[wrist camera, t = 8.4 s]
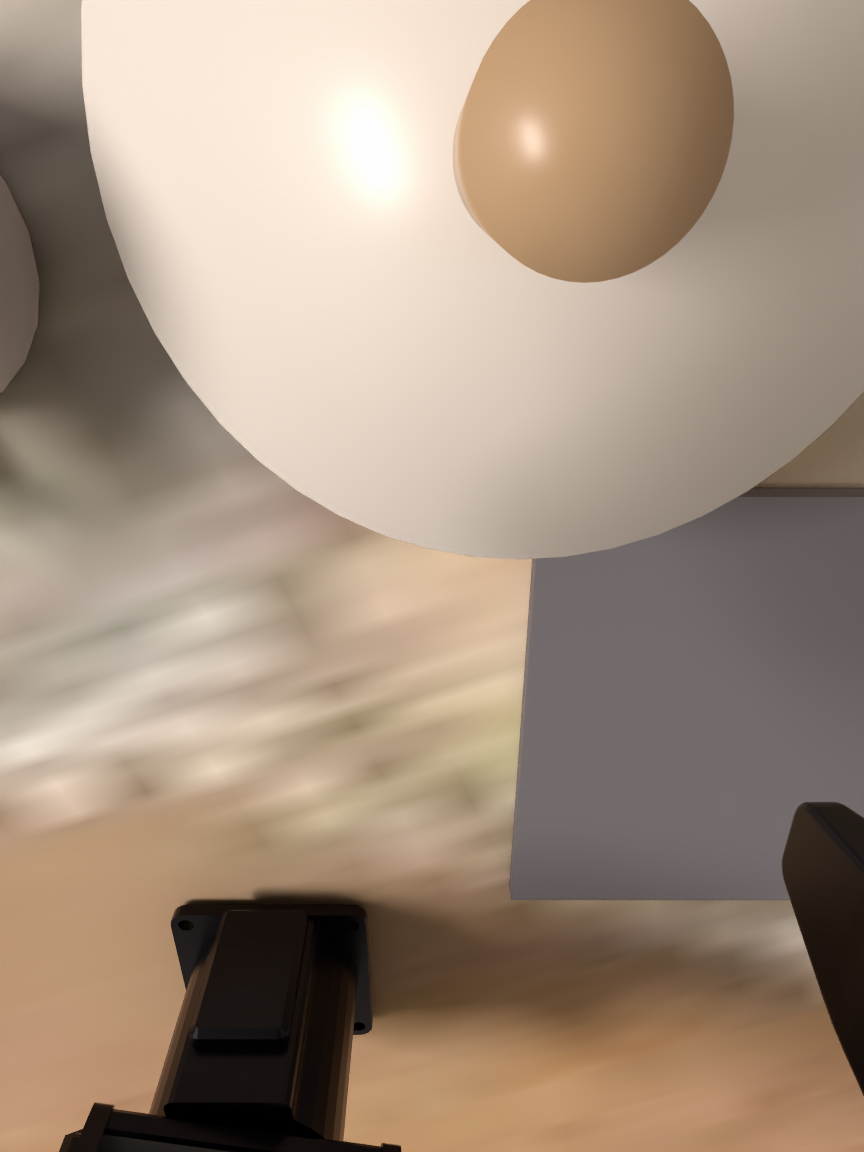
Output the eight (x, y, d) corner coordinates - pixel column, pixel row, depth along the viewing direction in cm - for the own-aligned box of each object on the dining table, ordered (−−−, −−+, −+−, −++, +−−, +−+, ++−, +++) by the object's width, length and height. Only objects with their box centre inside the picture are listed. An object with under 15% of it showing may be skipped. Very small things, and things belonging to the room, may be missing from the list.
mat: (930, 884, 25) (941, 900, 24) (509, 884, 25) (511, 899, 24) (1106, 488, 18) (1126, 497, 18) (537, 487, 18) (540, 496, 18)
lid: (845, 537, 15) (1023, 689, 10) (181, 536, 15) (72, 688, 10) (1131, -486, 9) (1860, -1185, 4) (8, -488, 9) (-433, -1185, 4)
